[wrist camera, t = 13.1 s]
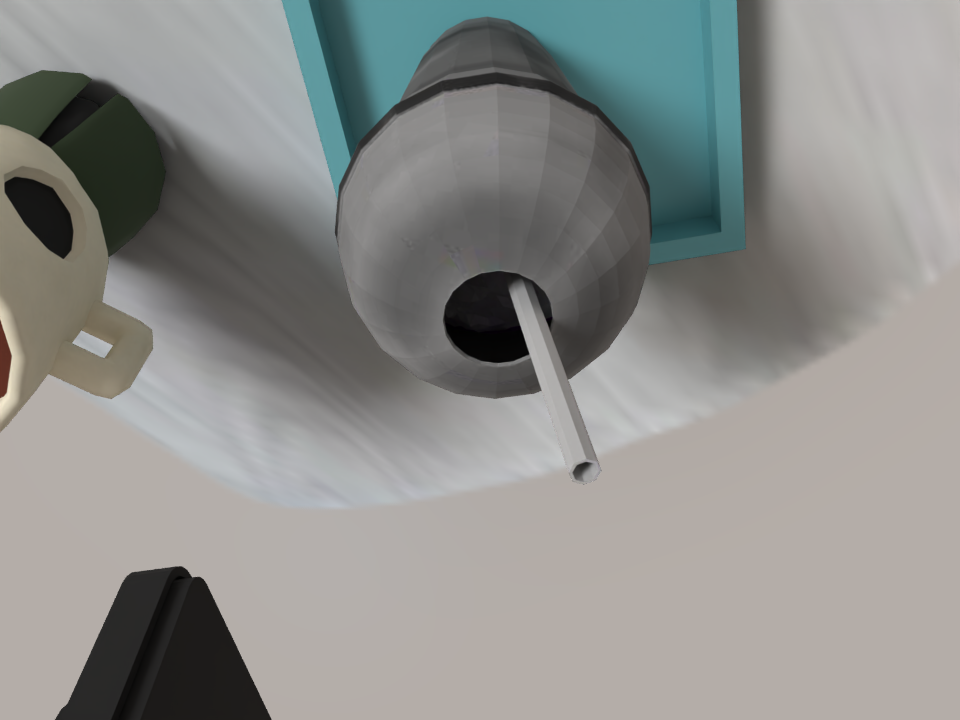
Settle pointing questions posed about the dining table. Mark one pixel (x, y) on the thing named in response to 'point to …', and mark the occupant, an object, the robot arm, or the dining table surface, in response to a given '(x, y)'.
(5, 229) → the character mug
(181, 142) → the dining table surface
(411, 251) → the beverage cup
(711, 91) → the tray
